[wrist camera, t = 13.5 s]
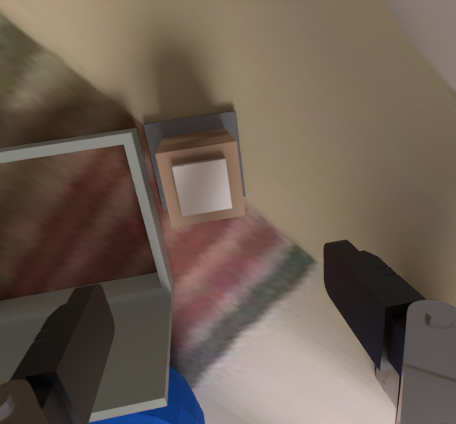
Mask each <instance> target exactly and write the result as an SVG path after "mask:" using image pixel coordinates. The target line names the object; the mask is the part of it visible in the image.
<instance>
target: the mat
mask: <svg viewBox="0 0 456 424" xmlns="http://www.w3.org/2000/svg"><path fill="white" fill-rule="evenodd" d="M221 128H225V129H226V130H227V131H228V132H229V133H230V135H231V136H232V137H233V138H234V139H235V140H236V141H237V148H238V157H239V165H240V174H241V182H242V191H243V197H245V189H244V180H243V171H242V163H241V154H240V145H239V137H238V128H237V119H236V111H229V112H222V113H215V114H209V115H202V116H195V117H188V118H182V119H175V120H168V121H162V122H155V123H148V124H144V129H145V134H146V138H147V142H148V147H149V151H150V155H151V159H152V164H153V168H154V172H155V177H156V181H157V185H158V189H159V194H160V198H161V202H162V207H163V210H168V208H167V204H166V199H165V195H164V191H163V186H162V182H161V177H160V173H159V168H158V164H157V160H156V155H155V153H156V151H157V149H158V147H159V144H160V142H161V140H162V137H169V136H175V135H182V134H189V133H195V132H202V131H208V130H215V129H221Z"/></svg>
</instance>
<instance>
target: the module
mask: <svg viewBox="0 0 456 424" xmlns="http://www.w3.org/2000/svg"><path fill="white" fill-rule="evenodd" d="M155 155H156V160H157V164H158V168H159V173H160V177H161V182H162V186H163V191H164V195H165V199H166V204H167V208H168V213H169V217H170V222H171V226H172V228H174V227H180V226H185V225H191V224H197V223H203V222H209V221H214V220H220V219H226V218H232V217H238V216H243V215H245V208H244V199H243V191H242V182H241V174H240V165H239V157H238V148H237V141H236V140H235V139H234V138H233V137H232V136H231V135H230V133H229V132H228V131H227V130H226V129H225V128H221V129H215V130H208V131H202V132H195V133H189V134H182V135H175V136H169V137H162V140H161V142H160V144H159V147H158V149H157V151H156V153H155Z"/></svg>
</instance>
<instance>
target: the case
mask: <svg viewBox="0 0 456 424" xmlns="http://www.w3.org/2000/svg"><path fill="white" fill-rule="evenodd" d="M122 144H124V147H125V151H126V155H127V159H128V163H129V166H130V170H131V174H132V178H133V182H134V185H135V189H136V193H137V197H138V200H139V204H140V208H141V212H142V216H143V219H144V223H145V227H146V231H147V235H148V238H149V242H150V246H151V250H152V253H153V257H154V261H155V265H156V269H157V272H155V273H150V274H144V275H139V276H133V277H128V278H122V279H117V280H111V281H106V282H100V283H95V284H100V285H101V286H102V288H103V290H104V293H105V296H106V299H107V302H108V304H109V307H110V310H111V313H112V316H113V319H114V325H115V333H114V338H113V342H112V345H111V348H110V352H109V355H108V359H107V362H106V365H105V369H104V372H103V376H102V379H101V382H100V386H99V389H98V393H97V396H96V399H95V403H94V406H93V410H92V413H91V416H90V420H89V422H94V421H98V420H103V419H108V418H112V417H117V416H122V415H127V414H131V413H136V412H141V411H145V410H150V409H155V408H160V407H164V406H167V400H168V382H169V365H170V347H171V329H172V311H173V294H174V279H173V275H172V271H171V267H170V263H169V259H168V254H167V250H166V246H165V242H164V238H163V234H162V230H161V225H160V221H159V217H158V213H157V209H156V205H155V201H154V197H153V192H152V188H151V184H150V180H149V176H148V172H147V168H146V164H145V159H144V155H143V151H142V147H141V143H140V139H139V135H138V130H137V128H131V129H124V130H118V131H111V132H104V133H98V134H91V135H84V136H78V137H71V138H64V139H58V140H51V141H44V142H38V143H31V144H24V145H18V146H11V147H4V148H0V163H5V162H11V161H18V160H24V159H31V158H37V157H44V156H50V155H57V154H64V153H70V152H77V151H83V150H90V149H96V148H103V147H109V146H116V145H122ZM89 285H92V284H89ZM84 286H87V285H84ZM78 287H81V286H78ZM75 288H76V287H73V288H67V289H62V290H56V291H51V292H45V293H40V294H34V295H29V296H23V297H18V298H12V299H7V300H1V301H0V385H1V384H3V383H5V382H8V381H9V380H10V379H11V377H12V375H13V374H14V372H15V370H16V369H17V367H18V365H19V364H20V362H21V361H22V359H23V357H24V356H25V354H26V352H27V351H28V349H29V347H30V346H31V344H32V343H34V339H35V337H36V336H37V334H38V333H39V332H40V331H41V330H40V329H41V328H42V326H43V324H44V323H45V321H46V319H47V318H48V316H50V315H51V314H52V313H53V312H54V311H55V310H56V309H57V308H58V307H59V306H60V305H64V304H66V303H67V301H68V299H69V297H70V296H71V294H72V292H73V290H74V289H75Z"/></svg>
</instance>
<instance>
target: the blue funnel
mask: <svg viewBox="0 0 456 424" xmlns="http://www.w3.org/2000/svg"><path fill="white" fill-rule="evenodd" d="M88 424H205V420H204V414H203V411H202V409H201V407H200V405H199V403H198V401H197V399H196V397H195V395H194V393H193V391H192V390H191V388H190V386H189V385H188V383H187V381H186V380H185V378H183V377H182V376H181V375H180V374H179V373H178V372H176V371H175V370H174V369H173V368H172V367H171V366H169V382H168V400H167V406H164V407H160V408H155V409H150V410H145V411H141V412H136V413H131V414H127V415H122V416H117V417H112V418H108V419H103V420H98V421H94V422H89V423H88Z"/></svg>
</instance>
